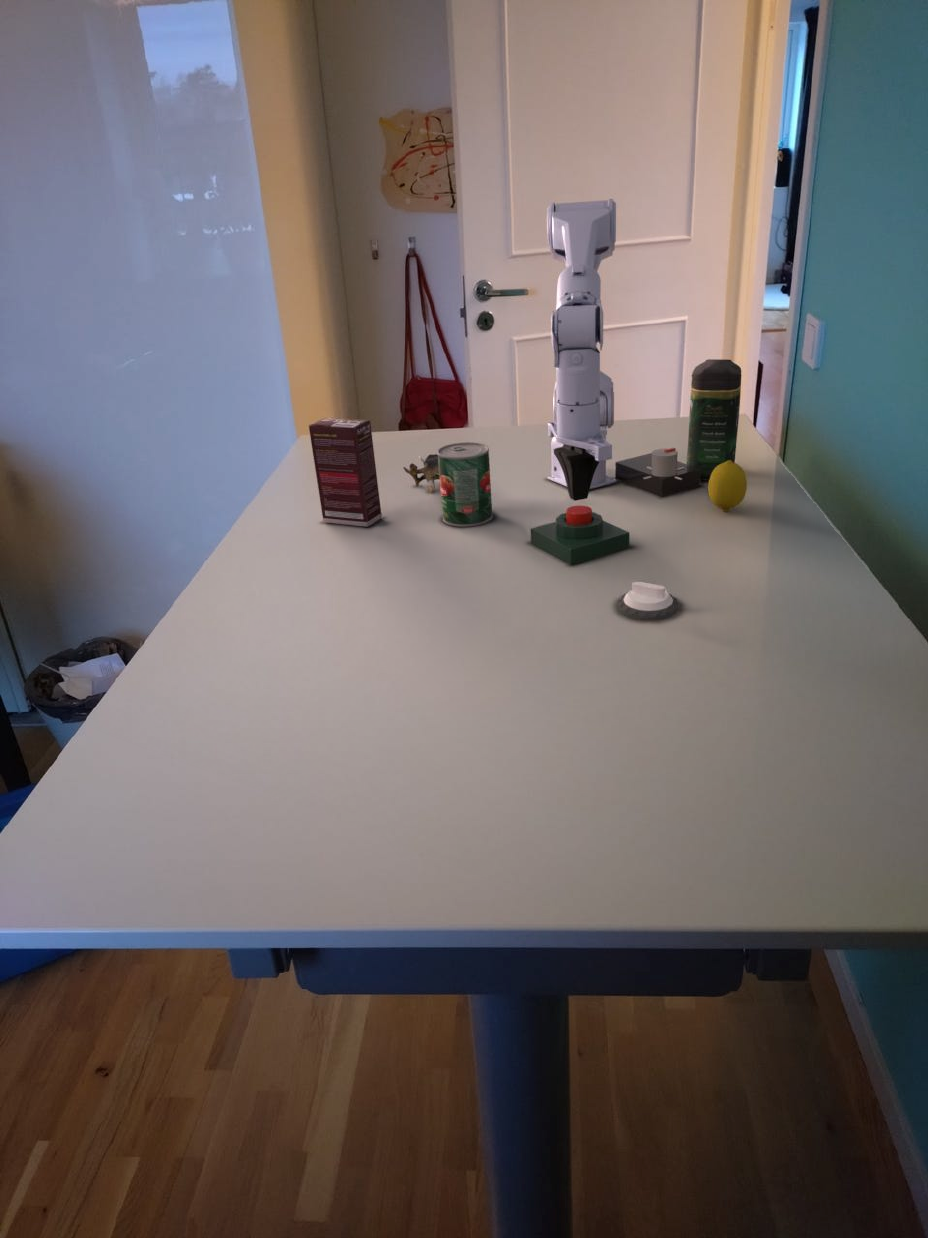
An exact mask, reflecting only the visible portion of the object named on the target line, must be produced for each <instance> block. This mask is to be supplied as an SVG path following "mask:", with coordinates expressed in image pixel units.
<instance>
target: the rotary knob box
mask: <svg viewBox="0 0 928 1238" xmlns="http://www.w3.org/2000/svg"><path fill="white" fill-rule="evenodd" d="M614 469H615V470H614V471H615V473H614V474H615V475H614V476H615V478H614V479H616V480H617V481H619V482H622V483H624V484H627V485H630V486H631V487H635V488H638V489H641V490H643V491H645V492H648V493H650V494H652V495H656V496H658V497H660V498H664V497H668V496H671V495H675V494H679V493H682V492H685V491H688V490H692V489H696V488H700V487H701V479H700V476H701V469H699V468H696V467H693V466H690V465H687V463H684V462H682V461H678V460H677V474H676V475H674V476H671V477H657V476H654V475H652V473H651V469H652V452H651V453H650V452H649V453H646V454H642V455H638V456H635V457H631V458H626V459H623V460H622V459H621V460H618V461H615V468H614Z"/></svg>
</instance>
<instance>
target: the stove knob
mask: <svg viewBox="0 0 928 1238" xmlns="http://www.w3.org/2000/svg"><path fill="white" fill-rule="evenodd" d="M617 602H618V603H617V610H618V612H619V613H620V614H621V615H623V616H625V617H627V618H628V619H629V618H630V619H632V620H638V621H643V622H644V621H645V622H655V621H662V620H667V619H670V618H671V617H673V616H675V615H676V614H677V613H678V612H679V609H680V607H679V602H678V599H677V598H676V597H675V596H673V595H672V594H671V593H669V592H668V591H667V590H666V587H665V586H664V585H659V584H655V583H648V582H642V581H633V582H632V583H631V589H630V590H628V592H627V593H624V594H623V595H621V596H620V598H619V599H618V601H617Z"/></svg>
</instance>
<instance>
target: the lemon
mask: <svg viewBox="0 0 928 1238" xmlns="http://www.w3.org/2000/svg"><path fill="white" fill-rule="evenodd" d="M747 488H748V480H747V475H746V472H745V470H744V469H743V468H742V466H741V465H740V464H738V463H733V462H732V461H731V460H727V461H726V462H725V463H722V464H720V465H718V466H717V467H716V468H715V469H714V470H713V472H712V474H711V476H710V479H709V480H708V485H707V491H708V492H707V493H708V496H709V500H710V501H711V503H712V504H713V505H715V506H716V507H717V508H719V509H720V510H722V511H723V512H725V513H726V512H727V513H728V512H729V511H730V510H731V509H734V508H736V507H738V506H739V505H740V504H741V503H742V502H743V501H744V499H745V497H746V493H747V490H748V489H747Z"/></svg>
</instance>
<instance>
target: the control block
mask: <svg viewBox="0 0 928 1238" xmlns="http://www.w3.org/2000/svg"><path fill="white" fill-rule="evenodd" d="M530 544H532V545H533V546H535V547H536V548H539V549H541V550H543V551H544V552H546V553H548V554H549V555H552V556H554V557H555V558H557V559H559V560H561V561H563V562H565V563H567V565H570V566H573V565H576V564H579V563H582V562H586V561H589V560H592V559H597V558H599V557H602V556H603V557H604V556H606V555H610V554H613V553H615V552H619V551H622V550H626V549H628V548H630V531H627V530H626V529H623V528H621V527H619V526H616V525H614V524H612V523H610V522H608V521H605V520H603V516H602V515H601V514H599V513H596V512H593V511H592V522H591V523H587V524H581V525H574V524H569V523H567V522H566V512H564V513H561V514H559V515H557V516H556V518H555V521H553V522H550V523H545V524H542V525H538V526H535V527H531V528H530Z"/></svg>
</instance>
